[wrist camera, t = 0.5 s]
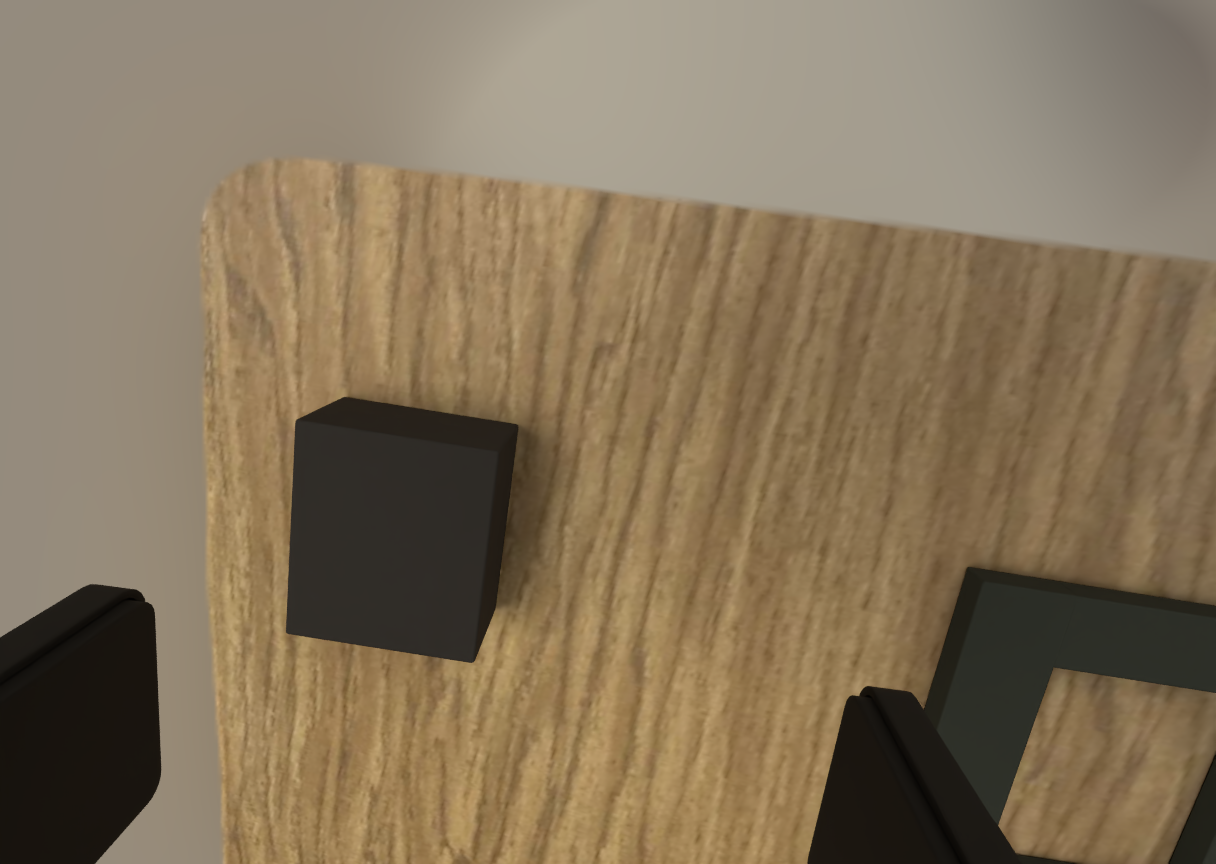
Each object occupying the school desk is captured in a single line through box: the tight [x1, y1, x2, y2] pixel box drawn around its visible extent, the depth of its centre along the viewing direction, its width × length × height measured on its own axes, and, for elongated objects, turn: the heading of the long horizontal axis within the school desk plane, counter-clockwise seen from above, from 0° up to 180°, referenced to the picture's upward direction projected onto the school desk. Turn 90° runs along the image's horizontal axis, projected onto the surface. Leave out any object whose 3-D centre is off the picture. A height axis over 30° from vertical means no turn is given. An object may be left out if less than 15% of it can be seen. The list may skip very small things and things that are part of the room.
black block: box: [286, 397, 518, 663], centre depth 23 cm, size 7×6×4 cm
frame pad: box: [924, 567, 1216, 864], centre depth 25 cm, size 14×14×1 cm
